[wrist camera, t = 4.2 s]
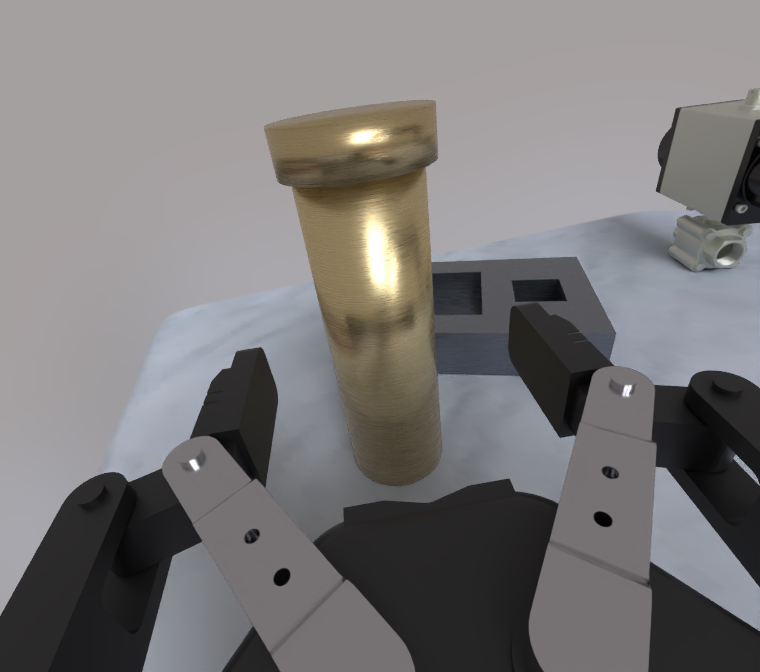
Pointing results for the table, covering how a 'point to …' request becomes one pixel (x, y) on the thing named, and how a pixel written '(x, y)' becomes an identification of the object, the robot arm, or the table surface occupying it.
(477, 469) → the table surface
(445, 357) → the plate
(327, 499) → the table surface
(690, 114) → the pneumatic valve
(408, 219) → the brass headed pin
